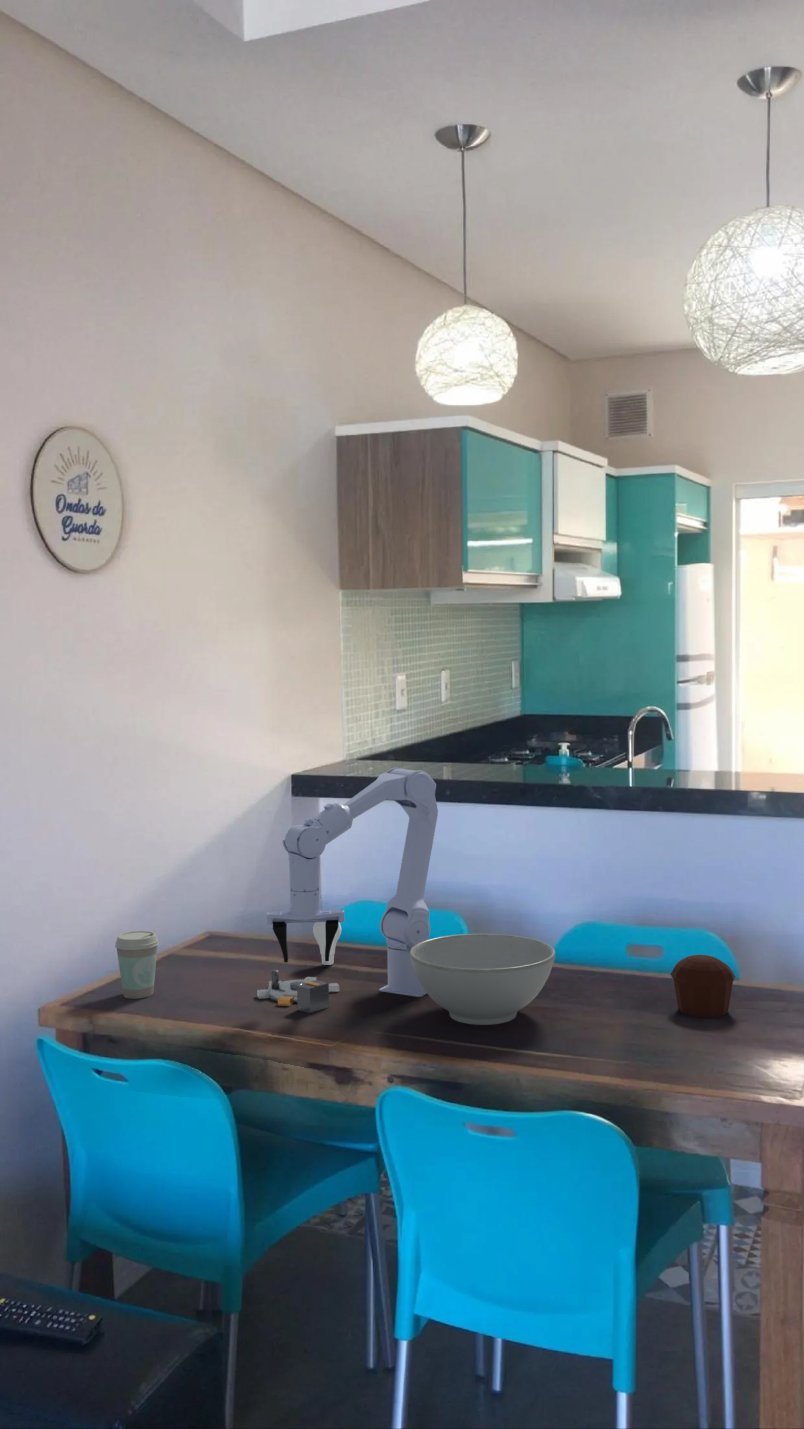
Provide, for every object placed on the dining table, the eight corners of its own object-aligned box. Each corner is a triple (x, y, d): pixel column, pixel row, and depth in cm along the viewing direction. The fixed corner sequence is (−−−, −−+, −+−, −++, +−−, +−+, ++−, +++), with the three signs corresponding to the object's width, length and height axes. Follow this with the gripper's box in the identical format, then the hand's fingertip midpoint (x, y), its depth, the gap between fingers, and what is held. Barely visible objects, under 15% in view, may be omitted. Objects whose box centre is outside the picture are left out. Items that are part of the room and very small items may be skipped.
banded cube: (329, 1009, 225) (328, 982, 225) (310, 1015, 221) (309, 987, 221) (316, 1005, 227) (316, 979, 227) (297, 1012, 224) (297, 984, 223)
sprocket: (317, 978, 245) (316, 956, 245) (353, 997, 231) (352, 973, 231) (245, 990, 237) (244, 967, 237) (278, 1010, 223) (277, 986, 223)
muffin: (744, 1007, 221) (743, 954, 221) (723, 1023, 212) (723, 968, 212) (682, 998, 228) (682, 946, 228) (660, 1013, 219) (660, 959, 218)
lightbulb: (338, 970, 252) (337, 919, 252) (310, 969, 253) (309, 918, 253) (344, 963, 258) (343, 913, 258) (317, 962, 259) (316, 912, 259)
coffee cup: (128, 1003, 231) (126, 942, 230) (109, 994, 237) (107, 935, 237) (168, 995, 236) (166, 935, 235) (147, 986, 243) (146, 928, 242)
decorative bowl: (515, 988, 237) (514, 928, 236) (583, 1026, 212) (582, 959, 211) (389, 1004, 227) (388, 942, 227) (444, 1046, 202) (443, 976, 202)
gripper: (343, 884, 228) (344, 954, 229) (267, 886, 227) (269, 956, 228) (343, 891, 221) (345, 963, 222) (265, 893, 220) (267, 965, 221)
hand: (306, 960), depth 224 cm, fingers open, 7 cm apart
